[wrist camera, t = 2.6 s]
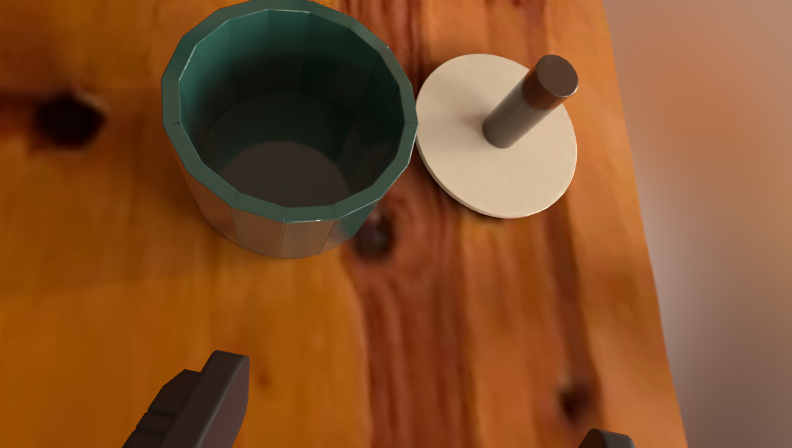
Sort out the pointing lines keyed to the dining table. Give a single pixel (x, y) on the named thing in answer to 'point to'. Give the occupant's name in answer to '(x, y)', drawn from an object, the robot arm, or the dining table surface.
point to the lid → (498, 132)
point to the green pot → (287, 123)
